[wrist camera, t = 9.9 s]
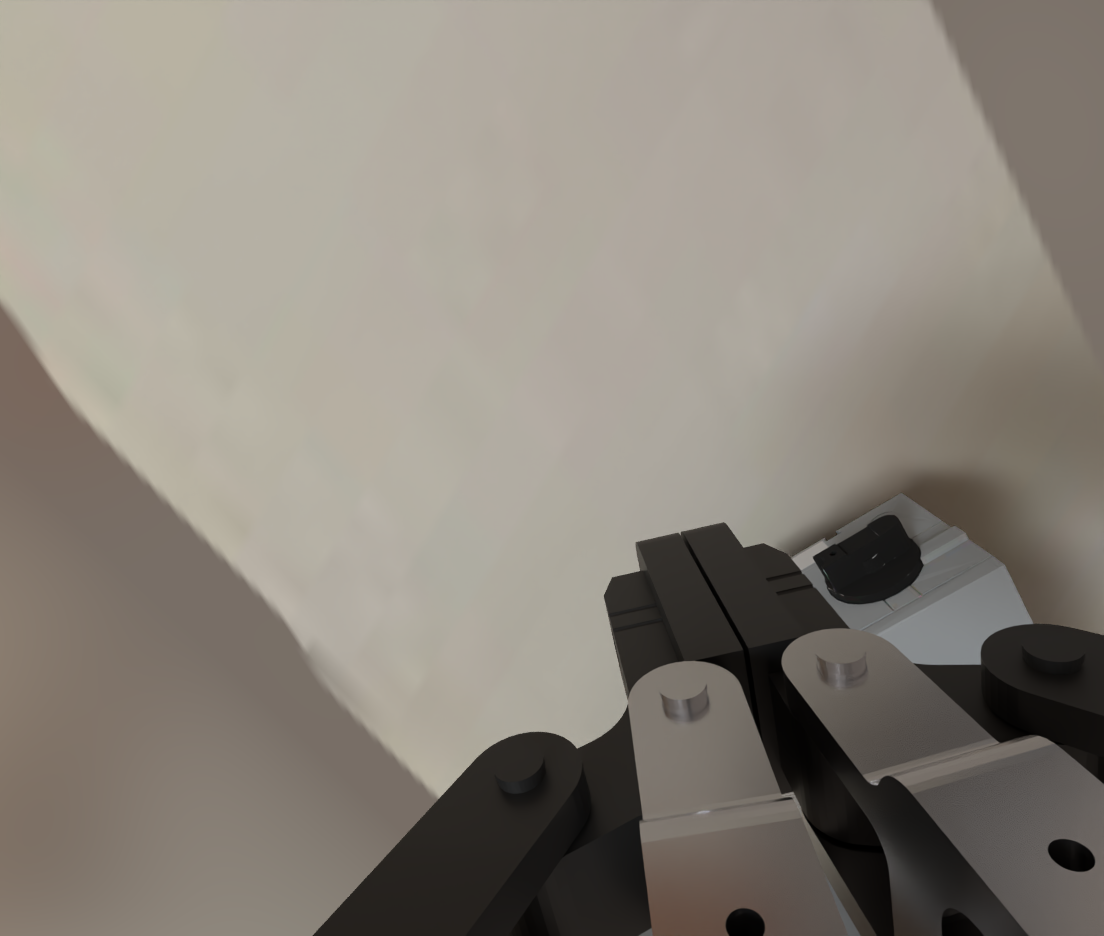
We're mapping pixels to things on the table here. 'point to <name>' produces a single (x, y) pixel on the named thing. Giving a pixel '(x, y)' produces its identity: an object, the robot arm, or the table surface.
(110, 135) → the table surface
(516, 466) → the table surface
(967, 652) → the circuit breaker
